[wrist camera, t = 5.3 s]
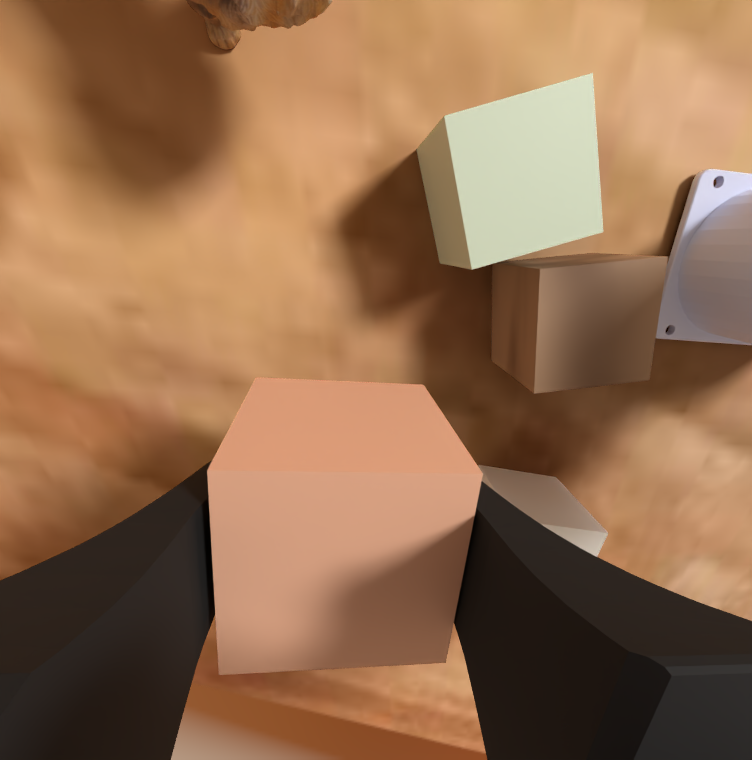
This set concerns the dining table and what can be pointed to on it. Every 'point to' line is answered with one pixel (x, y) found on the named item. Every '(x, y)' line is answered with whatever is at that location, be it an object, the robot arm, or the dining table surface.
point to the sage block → (514, 175)
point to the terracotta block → (338, 527)
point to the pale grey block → (547, 505)
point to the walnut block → (576, 319)
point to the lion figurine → (252, 16)
